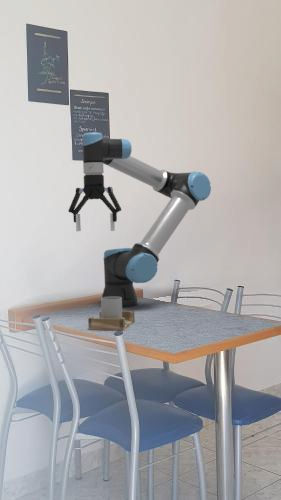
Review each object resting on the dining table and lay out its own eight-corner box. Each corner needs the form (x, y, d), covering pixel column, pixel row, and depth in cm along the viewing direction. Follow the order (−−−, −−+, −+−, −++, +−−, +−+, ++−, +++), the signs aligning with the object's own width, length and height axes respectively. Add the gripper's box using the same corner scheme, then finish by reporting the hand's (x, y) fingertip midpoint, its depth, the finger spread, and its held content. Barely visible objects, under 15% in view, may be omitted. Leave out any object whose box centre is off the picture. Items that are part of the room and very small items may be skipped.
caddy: (102, 321, 233) (102, 310, 232) (134, 321, 230) (134, 311, 229) (88, 329, 218) (88, 318, 218) (122, 330, 215) (122, 319, 215)
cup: (106, 326, 218) (105, 300, 218) (95, 321, 227) (94, 296, 227) (125, 324, 221) (125, 298, 221) (114, 319, 230) (113, 294, 230)
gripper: (58, 175, 242) (60, 231, 244) (122, 173, 236) (124, 231, 238) (66, 175, 249) (68, 230, 251) (128, 173, 243) (129, 229, 245)
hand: (95, 231), depth 245 cm, fingers open, 13 cm apart
